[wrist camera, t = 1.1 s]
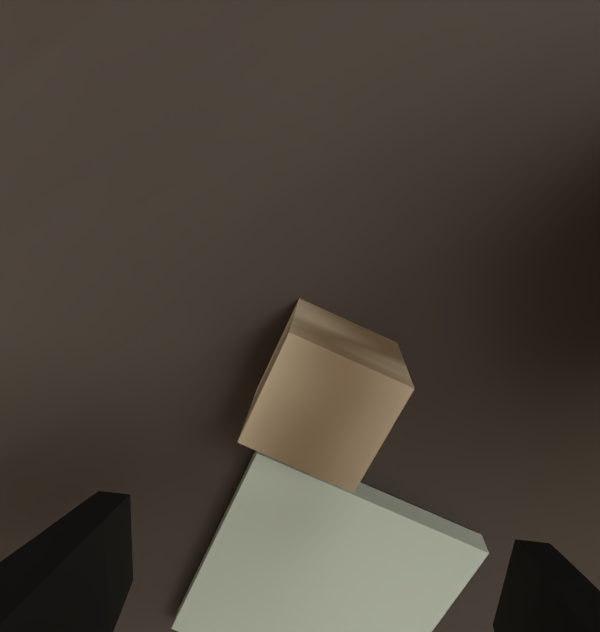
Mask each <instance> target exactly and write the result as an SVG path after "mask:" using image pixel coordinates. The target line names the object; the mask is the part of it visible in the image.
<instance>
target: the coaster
mask: <svg viewBox="0 0 600 632" xmlns="http://www.w3.org/2000/svg"><path fill="white" fill-rule="evenodd" d="M488 554H489V552H488V549H487V547H486V544H485V542H484V540H483V537H482V535H481V534H479V533H476V532H474V531H472V530H469V529H467V528H465V527H462V526H460V525H458V524H456V523H453V522H451V521H449V520H446V519H444V518H442V517H439V516H437V515H435V514H432V513H430V512H428V511H426V510H423V509H421V508H419V507H416V506H414V505H412V504H409V503H407V502H405V501H402V500H400V499H398V498H396V497H393V496H391V495H389V494H386V493H384V492H382V491H379V490H377V489H375V488H372V487H370V486H368V485H365V484H363V483H361V482H360V483H359V485H358V486H357V488H356V490H355V492H354V493H353V492H351V491H348V490H346V489H344V488H341V487H339V486H337V485H334V484H332V483H330V482H327V481H325V480H323V479H320V478H318V477H316V476H314V475H311V474H309V473H307V472H304V471H302V470H300V469H297V468H295V467H293V466H290V465H288V464H286V463H283V462H281V461H279V460H277V459H274V458H272V457H270V456H267V455H265V454H263V453H260V452H258V451H256V450H255V452H254V454H253V456H252V459H251V461H250V463H249V465H248V467H247V469H246V471H245V473H244V475H243V477H242V479H241V481H240V483H239V485H238V487H237V489H236V491H235V494H234V496H233V498H232V500H231V502H230V504H229V506H228V508H227V510H226V512H225V514H224V516H223V518H222V520H221V522H220V524H219V526H218V529H217V531H216V533H215V535H214V537H213V539H212V541H211V543H210V545H209V547H208V549H207V551H206V553H205V555H204V557H203V559H202V561H201V563H200V566H199V568H198V570H197V572H196V574H195V576H194V578H193V580H192V582H191V584H190V586H189V588H188V590H187V592H186V594H185V596H184V598H183V601H182V603H181V605H180V607H179V609H178V612H177V614H176V617H175V620H174V623H173V625H172V628H171V629H173V630H176V631H178V632H432V631H433V629H434V628H435V627H436V625H437V624H438V623H439V621H440V620H441V618H442V617H443V616H444V614H445V613H446V612H447V610H448V609H449V608H450V606H451V605H452V603H453V602H454V601H455V599H456V598H457V597H458V595H459V594H460V592H461V591H462V590H463V588H464V587H465V586H466V584H467V583H468V582H469V580H470V579H471V577H472V576H473V575H474V573H475V572H476V571H477V569H478V568H479V566H480V565H481V564H482V562H483V561H484V560H485V558H486V557H487V556H488Z"/></svg>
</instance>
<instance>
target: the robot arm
mask: <svg viewBox="0 0 600 632" xmlns="http://www.w3.org/2000/svg"><path fill="white" fill-rule="evenodd" d="M132 581H133V567H132V538H131V508H130V495H128V494H119V493H111V492H102V491H98V492H97V493H96V494H94V495H93V496H91V497H90V498H88V499H87V500H86V501H84V502H83V503H81V504H80V505H79V506H77V507H76V508H74V509H73V510H72V511H70V512H69V513H68V514H66V515H65V516H64V517H62V518H61V519H59V520H58V521H57V522H55V523H54V524H53V525H51V526H50V527H49V528H47V529H46V530H44V531H43V532H42V533H40V534H39V535H38V536H36V537H35V538H33V539H32V540H31V541H29V542H28V543H26V544H25V545H24V546H22V547H21V548H19V549H18V550H17V551H15V552H14V553H12V554H11V555H9V556H8V557H7V558H5V559H4V560H2V561H1V562H0V632H113V630H114V628H115V625H116V623H117V620H118V618H119V615H120V613H121V610H122V608H123V605H124V602H125V600H126V597H127V594H128V592H129V589H130V587H131V584H132ZM493 628H494V632H600V591H599V590H598V589H597V588H596V587H595V586H594V585H593V584H592V583H591V582H590V581H589V580H588V579H587V578H586V577H585V576H584V575H583V574H582V573H581V572H579V571H578V570H577V569H576V568H575V567H574V566H573V565H572V564H571V563H570V562H569V561H568V560H567V559H566V558H565V557H564V556H563V555H562V554H561V553H559V552H558V551H557V550H556V549H555V548H554V547H553V546H552V545H551V544H549V543H541V542H533V541H524V540H516V539H515V542H514V546H513V550H512V554H511V558H510V561H509V565H508V569H507V573H506V577H505V581H504V584H503V588H502V592H501V596H500V600H499V604H498V607H497V611H496V615H495V619H494V623H493Z"/></svg>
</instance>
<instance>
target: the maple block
mask: <svg viewBox="0 0 600 632" xmlns="http://www.w3.org/2000/svg"><path fill="white" fill-rule="evenodd" d="M414 389H415V388H414V386H413V383H412V380H411V378H410V375H409V372H408V370H407V367H406V364H405V362H404V359H403V356H402V354H401V351H400V348H399V346H398V343H397V342H394V341H392V340H390V339H388V338H386V337H384V336H381V335H379V334H377V333H375V332H373V331H370V330H368V329H366V328H364V327H362V326H359V325H357V324H355V323H353V322H351V321H348V320H346V319H344V318H342V317H340V316H337V315H335V314H333V313H331V312H329V311H326V310H324V309H322V308H320V307H318V306H315V305H313V304H311V303H309V302H307V301H304V300H302V299H300V298H299V299H298V302H297V304H296V306H295V308H294V310H293V312H292V314H291V317H290V319H289V321H288V323H287V325H286V327H285V329H284V332H283V334H282V336H281V338H280V340H279V342H278V344H277V347H276V349H275V351H274V353H273V355H272V357H271V359H270V362H269V364H268V366H267V368H266V370H265V372H264V374H263V377H262V379H261V381H260V383H259V385H258V387H257V390H256V393H255V395H254V398H253V401H252V404H251V406H250V409H249V412H248V415H247V417H246V420H245V423H244V425H243V428H242V431H241V434H240V436H239V439H238V442H237V443H240V444H242V445H244V446H246V447H249V448H251V449H253V450H256V451H258V452H260V453H263V454H265V455H267V456H270V457H272V458H274V459H277V460H279V461H281V462H283V463H286V464H288V465H290V466H293V467H295V468H297V469H300V470H302V471H304V472H307V473H309V474H311V475H314V476H316V477H318V478H320V479H323V480H325V481H327V482H330V483H332V484H334V485H337V486H339V487H341V488H344V489H346V490H348V491H351V492H353V493H354V492H355V490H356V488H357V486H358V485H359V483H360V481H361V480H362V478H363V476H364V474H365V473H366V471H367V469H368V468H369V466H370V464H371V462H372V461H373V459H374V457H375V456H376V454H377V452H378V450H379V449H380V447H381V445H382V444H383V442H384V440H385V438H386V437H387V435H388V433H389V432H390V430H391V428H392V427H393V425H394V423H395V421H396V420H397V418H398V416H399V415H400V413H401V411H402V409H403V408H404V406H405V404H406V403H407V401H408V399H409V397H410V396H411V394H412V392H413V391H414Z"/></svg>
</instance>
